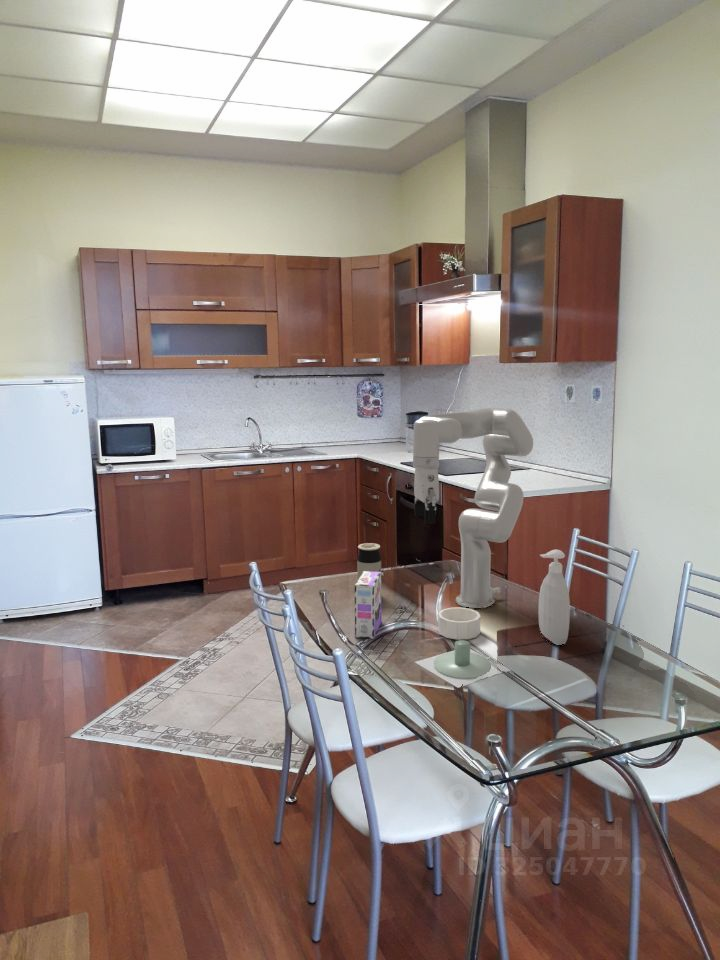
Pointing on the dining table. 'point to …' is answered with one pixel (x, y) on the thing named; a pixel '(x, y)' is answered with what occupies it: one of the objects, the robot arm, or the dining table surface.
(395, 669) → the dining table surface
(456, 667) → the lid
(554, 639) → the soap bottle
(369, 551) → the travel mug
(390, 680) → the dining table surface
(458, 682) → the mat
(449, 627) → the bowl
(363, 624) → the candy box
